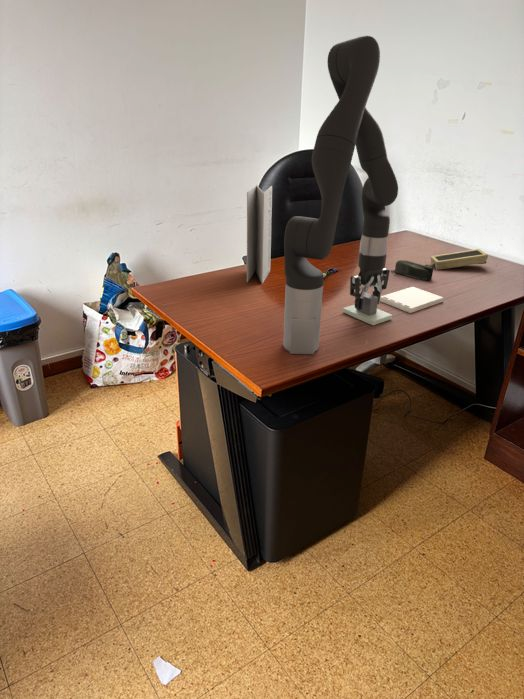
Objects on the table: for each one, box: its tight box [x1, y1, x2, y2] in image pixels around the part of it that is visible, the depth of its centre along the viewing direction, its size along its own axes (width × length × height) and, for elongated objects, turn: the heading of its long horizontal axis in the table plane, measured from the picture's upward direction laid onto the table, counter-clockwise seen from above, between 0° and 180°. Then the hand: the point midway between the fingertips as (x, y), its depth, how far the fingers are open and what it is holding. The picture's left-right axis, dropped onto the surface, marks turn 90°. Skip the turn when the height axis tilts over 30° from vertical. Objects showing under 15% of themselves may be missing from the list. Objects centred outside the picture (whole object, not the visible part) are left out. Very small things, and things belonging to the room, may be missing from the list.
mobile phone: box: [390, 259, 434, 281], centre depth 188 cm, size 5×3×15 cm
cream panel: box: [379, 286, 444, 314], centre depth 166 cm, size 16×12×2 cm
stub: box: [342, 291, 393, 326], centre depth 154 cm, size 8×12×6 cm, turn 37°
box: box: [424, 248, 489, 271], centre depth 198 cm, size 8×22×5 cm, turn 92°
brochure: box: [246, 184, 273, 284], centre depth 179 cm, size 14×6×30 cm, turn 168°
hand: (366, 306), depth 154 cm, fingers open, 6 cm apart
